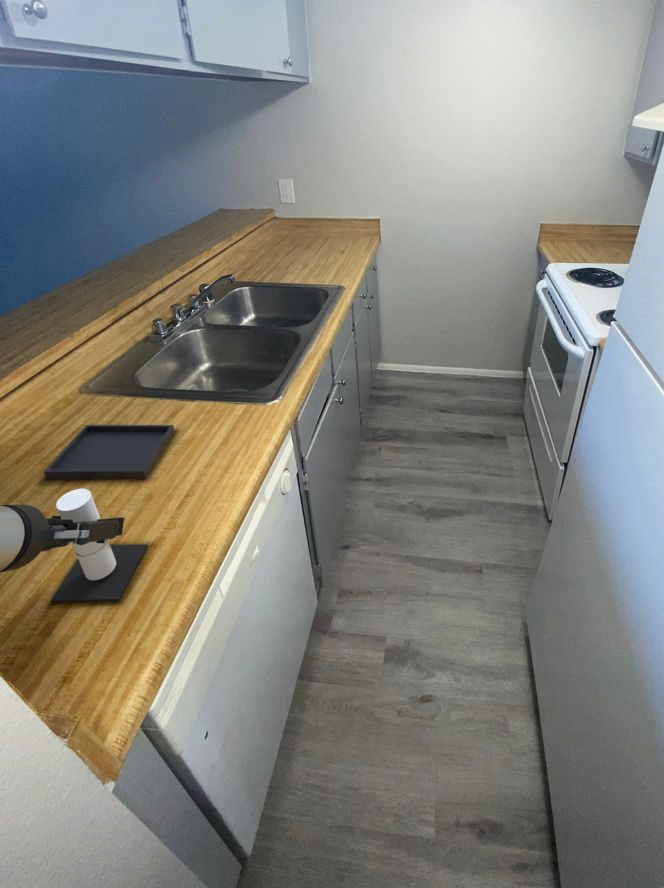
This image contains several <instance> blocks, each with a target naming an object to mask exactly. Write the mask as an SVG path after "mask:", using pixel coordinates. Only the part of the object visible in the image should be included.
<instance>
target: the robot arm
mask: <svg viewBox="0 0 664 888" xmlns="http://www.w3.org/2000/svg"><path fill="white" fill-rule="evenodd" d="M124 523H125V517H123V516H122V517H109V518H100V519H97V521H87V522H73V520H71V519H61V517H60V515H51V517H48V518H47V517H46V516H45V515H44V513H43V512H42V511H41V510H40V509H38V508H37V507H35V506H33V505H29V504H0V573H5V572H9V571H15V570H18V569H21V568H24V567H25V566H27V565H28V564H30V563H31V562H33V561H34V560H36V558H37V557H38V556H39V555H40V554H41V552H48V551H51V550H52V549H54V548H55V549H56V548H64V547H67V546H68V545H69V544H70V543H71V542H73V544H78V545H84V544H87V543H89V542H95V541H97V542H96V543H105V540H106V539H108V540H113V539H116V538H117V537H118V536H122V535H123V529H124Z"/></svg>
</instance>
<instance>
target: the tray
mask: <svg viewBox="0 0 664 888" xmlns="http://www.w3.org/2000/svg"><path fill="white" fill-rule="evenodd" d="M175 433H176V429H175V427H174V424H85V425H84V427H83V428H82V429H81V430H80V431H79V432H78V433H77V434H76V435H75V436H74V438H72V440H71V441H70V442H69V443H68V444H67V445H66V447H65V448H63V450H62V451H61V452H60V453H59V454H58V455H57V456H56V457H55V459H53V461H52V462H51V463H50V464H49V465H48V466H47V467H46V468H45V469H44V471H43V473H44V475H45V478H46V480H146V479H147V478H148V476H149V475H150V473H151V472H152V470H153V468H154V467H155V465H156V464H157V462H158V460H159V459H160V457H161V456H162V454H163V452H164V450H165V449H166V447H167V445H168V444H169V443H170V441H171V439H172V437H173V436H174V435H175Z"/></svg>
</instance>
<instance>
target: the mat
mask: <svg viewBox="0 0 664 888" xmlns="http://www.w3.org/2000/svg"><path fill="white" fill-rule="evenodd" d="M110 547H111V549H112V552H113V555H114V557H115V560H116V566H115V568H114V570H113V571H112V572H111V573H110V574H109V575H107V576H106V577H104V578H102V579H99V580H89V579H87V578H86V576H85V574H84V571H83V569H82V567H81V564H80V562H79V559H78V558H77V560H76V561H75V563H74V564H73V566H72V567H71V569H70V571H69V572H68V573H67V575H66V577H64V580H63V581H62V582H61V584H60V585H59V587H58V588H57V590H56V592H55V593H54V594H53V596H52V598H51V599H50V602H51V603H52V604H58V603H59V604H60V603H106V602H107V603H112V602H113V603H115V602H116V603H117V602H121V600H122V598H123V596H124V594H125V592H126V591H127V588H128V586H129V584H130V583H131V581H132V579H133V577H134V575H135V573H136V571H137V569H138V567H139V565H140V563H141V562H142V560H143V557H144V555H145V554H146V552H147V550H148V548H149V545H148V544H110Z"/></svg>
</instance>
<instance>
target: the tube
mask: <svg viewBox="0 0 664 888" xmlns="http://www.w3.org/2000/svg"><path fill="white" fill-rule="evenodd" d="M55 507H56V509H57V511H58V514H59V516H60V517H61V519H71V520H73V522H87V521H97V519H101V516H100V513H99V511H98V508H97V506H96V503H95V499H94V498H93V495H92V492H91V491H90V490H89V489H88V488H76V489H73V490H70V491H68V492H66V493H64V494H63V495H61V496H60V497H59V498H58V499H57V501H56V503H55ZM96 542H97V541H95V542H89V543H87V544H84V545H78V544H73V542H70V543H71V545H72V547H73V550H74V552H75V554H76V557H77V560H78V559H79V562H80V564H81V567H82V569H83V571H84V574H85V576H86V578H87V579H89V580H99V579H102V578H104V577H106V576H107V575H109V574H110V573H111V572H112V571H113V570H114V568H115V566H116V560H115V557H114V555H113V552H112V549H111V547H110V545H111V544H110V541H109V539H106V540H105V543H96Z"/></svg>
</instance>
